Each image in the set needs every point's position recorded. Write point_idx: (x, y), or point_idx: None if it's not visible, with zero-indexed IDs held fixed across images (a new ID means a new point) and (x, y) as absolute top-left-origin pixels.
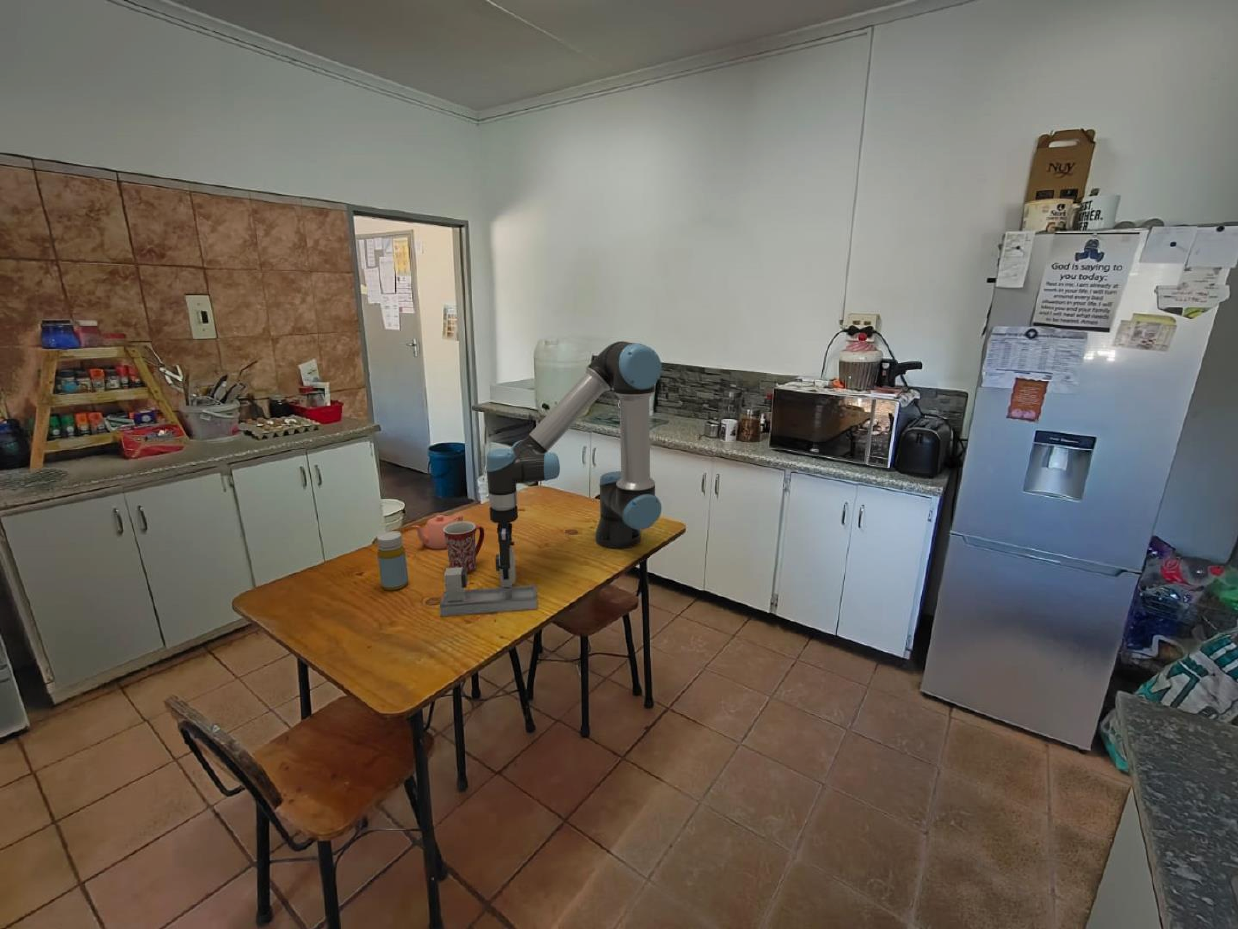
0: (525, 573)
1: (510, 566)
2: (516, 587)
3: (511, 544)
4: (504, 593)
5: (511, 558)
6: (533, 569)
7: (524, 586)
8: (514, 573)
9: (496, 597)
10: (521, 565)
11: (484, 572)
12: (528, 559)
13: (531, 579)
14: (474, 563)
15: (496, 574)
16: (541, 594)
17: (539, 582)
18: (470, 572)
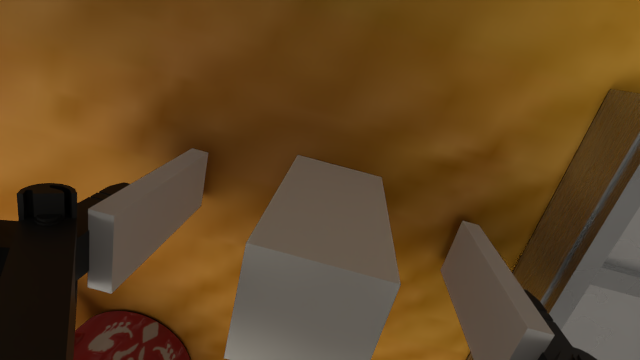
0: (276, 84)
1: (542, 333)
2: (609, 245)
3: (75, 229)
4: (597, 310)
5: (391, 295)
6: (236, 15)
7: (635, 192)
8: (385, 204)
9: (615, 356)
10: (156, 82)
11: (192, 287)
12: (76, 11)
13: (376, 67)
14: (137, 350)
15: (233, 242)
16: (620, 55)
17: (445, 23)
18: (180, 343)
